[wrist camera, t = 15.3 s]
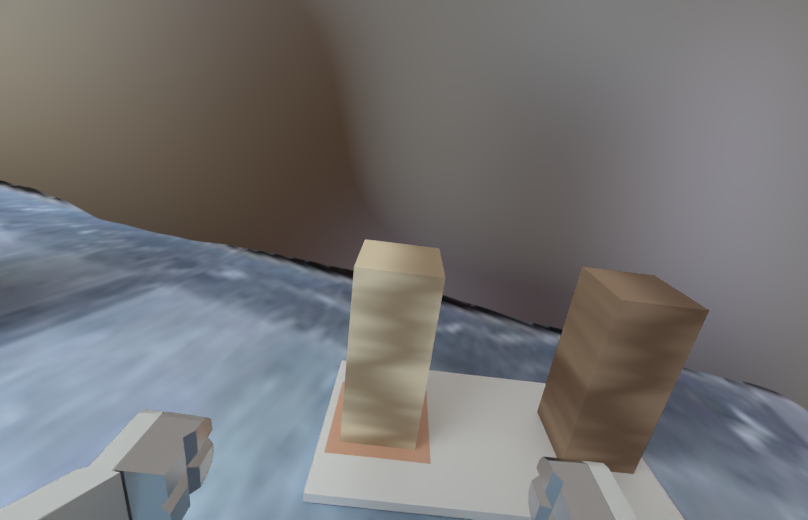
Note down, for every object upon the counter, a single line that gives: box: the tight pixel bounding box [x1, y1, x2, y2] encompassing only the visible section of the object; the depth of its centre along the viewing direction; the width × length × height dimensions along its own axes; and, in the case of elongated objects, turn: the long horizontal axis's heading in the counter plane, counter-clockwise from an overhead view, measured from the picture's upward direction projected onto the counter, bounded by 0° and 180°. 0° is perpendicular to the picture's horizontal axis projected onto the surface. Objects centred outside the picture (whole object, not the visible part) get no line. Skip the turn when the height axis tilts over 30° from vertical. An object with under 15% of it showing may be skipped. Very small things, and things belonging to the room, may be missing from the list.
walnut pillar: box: [537, 267, 709, 474], centre depth 22 cm, size 4×4×11 cm
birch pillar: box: [340, 239, 445, 450], centre depth 22 cm, size 4×4×11 cm
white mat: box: [303, 360, 684, 520], centre depth 24 cm, size 20×11×1 cm, turn 88°
